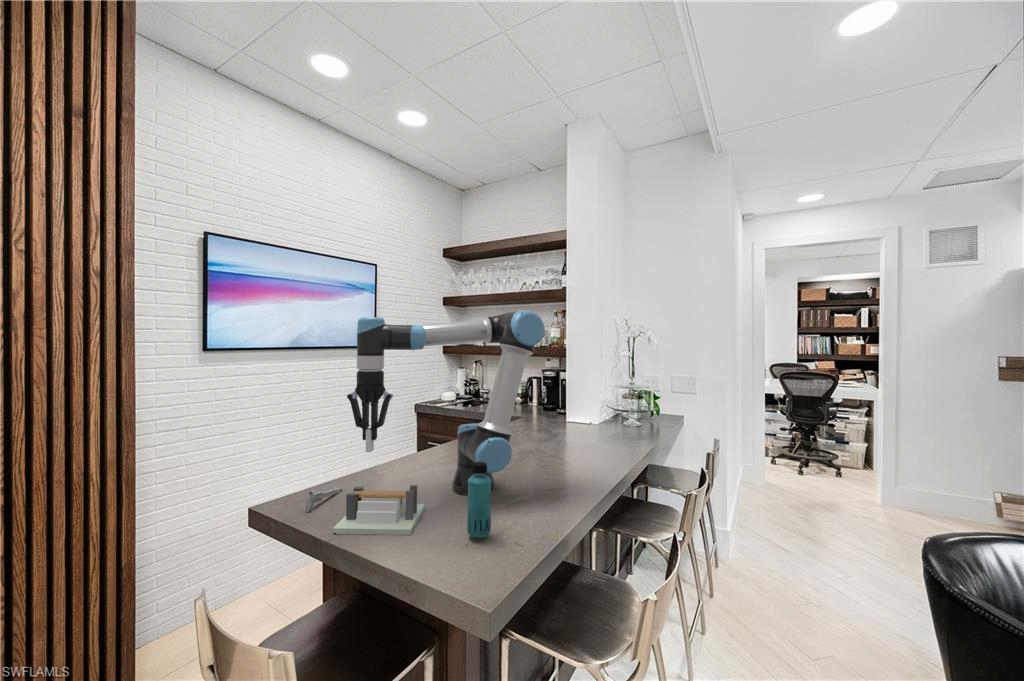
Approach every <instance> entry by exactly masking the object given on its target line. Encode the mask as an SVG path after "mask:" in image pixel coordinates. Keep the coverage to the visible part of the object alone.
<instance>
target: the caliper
mask: <svg viewBox="0 0 1024 681" xmlns="http://www.w3.org/2000/svg"><path fill="white" fill-rule="evenodd" d="M343 489H344V488H343V487H337V488H333V489H330V490H326V491H318V492H315V490H311V491H308V495H307V497H306V501H305V513H311V511H310V510H313V511H314V509H315V506H316V502H321V501H322V500H323V499H324V498H326V497H330V496H333V495H337V494H340V493H341V492H342V491H344V490H343ZM341 490H342V491H341ZM340 491H341V492H340ZM339 492H340V493H339Z"/></svg>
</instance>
